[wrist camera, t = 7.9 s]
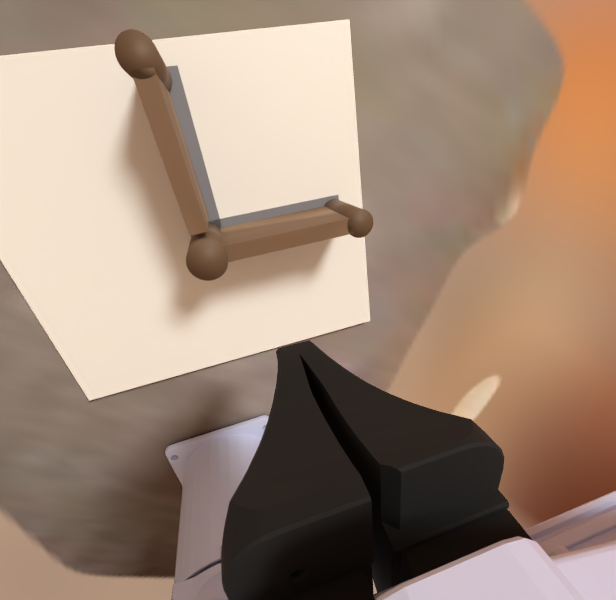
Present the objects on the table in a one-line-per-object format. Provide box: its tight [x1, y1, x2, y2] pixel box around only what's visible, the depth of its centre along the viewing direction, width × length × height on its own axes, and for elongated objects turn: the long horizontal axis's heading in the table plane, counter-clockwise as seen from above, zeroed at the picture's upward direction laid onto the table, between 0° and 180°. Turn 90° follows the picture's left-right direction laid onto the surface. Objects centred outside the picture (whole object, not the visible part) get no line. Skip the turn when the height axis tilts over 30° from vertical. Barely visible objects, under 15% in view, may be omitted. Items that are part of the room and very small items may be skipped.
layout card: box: [0, 20, 370, 401], centre depth 18 cm, size 18×20×1 cm
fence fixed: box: [186, 199, 373, 281], centre depth 17 cm, size 2×9×4 cm, turn 99°
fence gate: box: [114, 29, 209, 236], centre depth 14 cm, size 1×7×4 cm, turn 10°
